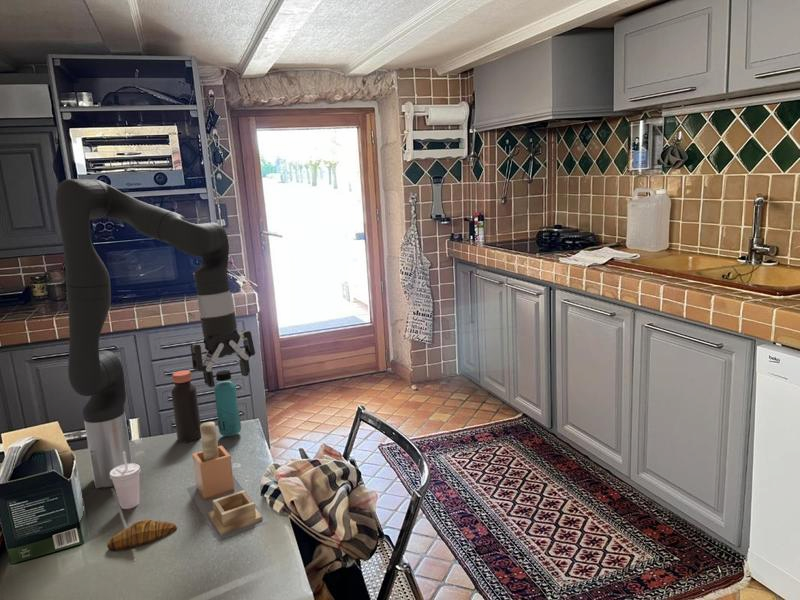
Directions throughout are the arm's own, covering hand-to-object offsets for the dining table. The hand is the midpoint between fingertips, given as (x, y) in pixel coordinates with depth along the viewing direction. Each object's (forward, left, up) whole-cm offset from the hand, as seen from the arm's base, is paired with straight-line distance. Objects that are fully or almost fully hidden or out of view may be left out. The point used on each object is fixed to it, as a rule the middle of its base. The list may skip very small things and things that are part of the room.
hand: (228, 381), depth 133 cm
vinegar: (-2, +40, -28) cm, 49 cm away
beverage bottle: (+8, +33, -28) cm, 44 cm away
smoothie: (-23, +9, -28) cm, 38 cm away
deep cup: (-5, +3, -27) cm, 28 cm away
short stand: (-5, -12, -27) cm, 30 cm away
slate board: (-5, -5, -28) cm, 29 cm away
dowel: (-5, +3, -27) cm, 27 cm away
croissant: (-23, -7, -29) cm, 37 cm away
